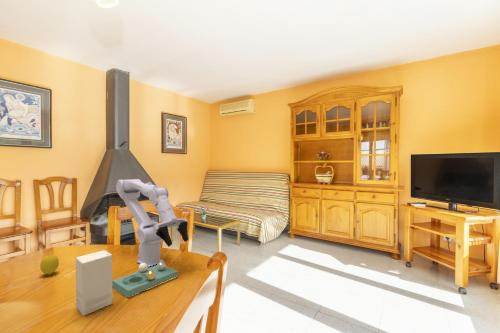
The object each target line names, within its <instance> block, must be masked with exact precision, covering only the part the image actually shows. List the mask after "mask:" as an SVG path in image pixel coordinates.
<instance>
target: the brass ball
mask: <svg viewBox="0 0 500 333" xmlns="http://www.w3.org/2000/svg"><path fill="white" fill-rule="evenodd" d="M155 276H156V273H155V272H154V271H152V270H151V271H148V272H147V274H146V278H147V279H148V280H153V279H154V278H155Z"/></svg>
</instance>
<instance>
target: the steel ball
mask: <svg viewBox="0 0 500 333" xmlns="http://www.w3.org/2000/svg"><path fill="white" fill-rule="evenodd" d="M166 266H167V265H166V262H165V261H164V262H159V263H158V264H157V269H158V270H160V271H161V270H164V269H165V267H166Z"/></svg>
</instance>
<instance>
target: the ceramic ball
mask: <svg viewBox="0 0 500 333" xmlns="http://www.w3.org/2000/svg"><path fill="white" fill-rule="evenodd" d="M147 268H149V267H148V265H147V264H146V263H141V264H140V263H139V265H138V271H141V272H144V271H146V270H147Z"/></svg>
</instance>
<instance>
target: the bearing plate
mask: <svg viewBox="0 0 500 333" xmlns="http://www.w3.org/2000/svg"><path fill="white" fill-rule="evenodd" d="M151 270H152V271H154V272H155V273H156V276H155V278H154V279H153V280H148V279H147V278H146V274H147V272H148V271H151ZM178 274H179V271H178V270H176V269H175V268H172V267H169V266H167V265H166V267H165V269H164V270H161V271H160V270H158V269H157V265H154V266H151V267H148V268H147V270H146V271H144V272H141V271H139V270H138V271H136V272H133V273H130V274H127V275H124V276H121V277H118V278H116V279H114V280H113V279H112V289H114V290H115V291H116V292H118V293H120V294H121V295H122V294H123V295H122V296H124V295H125V296H126V297H125V296H124V297H125V298H127V297H130V296H132V295H135V294H137V293H140V292H142V291H144V290H146V289H148V288H151V287H153V286H155V285H158V284H160V283H162V282H165V281H167V280H169V279H171V278H174V277H176V276H179V275H178ZM142 293H143V292H142ZM140 294H141V293H140ZM135 296H136V295H135Z"/></svg>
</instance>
